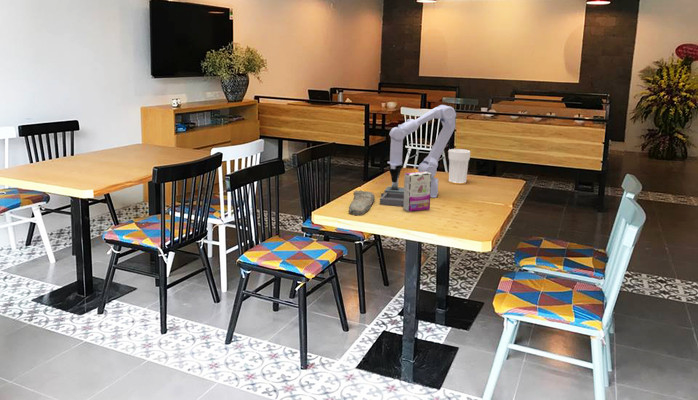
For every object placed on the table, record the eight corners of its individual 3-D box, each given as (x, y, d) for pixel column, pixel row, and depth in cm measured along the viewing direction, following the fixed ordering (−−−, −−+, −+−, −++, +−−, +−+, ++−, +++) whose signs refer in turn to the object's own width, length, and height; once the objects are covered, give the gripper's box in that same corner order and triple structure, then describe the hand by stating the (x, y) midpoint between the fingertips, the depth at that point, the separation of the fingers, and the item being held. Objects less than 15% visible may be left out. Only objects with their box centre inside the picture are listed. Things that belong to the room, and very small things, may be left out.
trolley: (412, 195, 287) (413, 181, 286) (409, 199, 279) (410, 184, 277) (384, 192, 291) (385, 178, 289) (381, 197, 282) (381, 182, 280)
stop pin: (398, 190, 285) (399, 171, 283) (397, 191, 283) (398, 172, 280) (392, 189, 286) (392, 171, 284) (390, 190, 283) (391, 172, 281)
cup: (471, 182, 321) (473, 150, 317) (463, 186, 311) (465, 153, 307) (451, 179, 327) (453, 148, 322) (443, 183, 317) (445, 150, 313)
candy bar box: (423, 207, 266) (425, 171, 262) (430, 209, 261) (432, 173, 257) (402, 209, 260) (404, 172, 257) (408, 212, 256) (410, 174, 252)
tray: (413, 200, 277) (413, 194, 276) (408, 207, 265) (408, 201, 264) (385, 198, 280) (385, 192, 279) (379, 204, 268) (379, 198, 267)
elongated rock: (343, 218, 250) (366, 221, 249) (344, 206, 248) (367, 209, 247) (356, 195, 283) (377, 197, 282) (357, 184, 281) (377, 187, 280)
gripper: (390, 150, 288) (389, 177, 291) (384, 154, 274) (383, 183, 277) (405, 151, 286) (404, 178, 289) (399, 155, 272) (398, 184, 276)
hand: (395, 181), depth 283 cm, fingers closed on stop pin, 3 cm apart
